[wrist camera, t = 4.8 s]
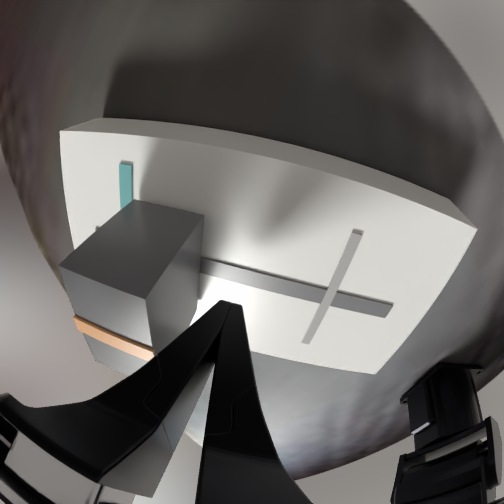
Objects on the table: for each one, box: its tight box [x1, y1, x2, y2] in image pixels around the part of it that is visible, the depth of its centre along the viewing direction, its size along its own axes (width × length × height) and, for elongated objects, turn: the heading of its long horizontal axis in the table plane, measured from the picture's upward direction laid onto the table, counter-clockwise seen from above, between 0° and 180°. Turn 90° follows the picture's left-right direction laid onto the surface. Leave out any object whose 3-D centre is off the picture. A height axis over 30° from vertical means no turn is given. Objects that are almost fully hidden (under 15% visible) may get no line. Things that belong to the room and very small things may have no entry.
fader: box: [58, 199, 205, 376], centre depth 10 cm, size 3×5×5 cm, turn 170°
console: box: [60, 118, 477, 374], centre depth 13 cm, size 18×10×3 cm, turn 80°
